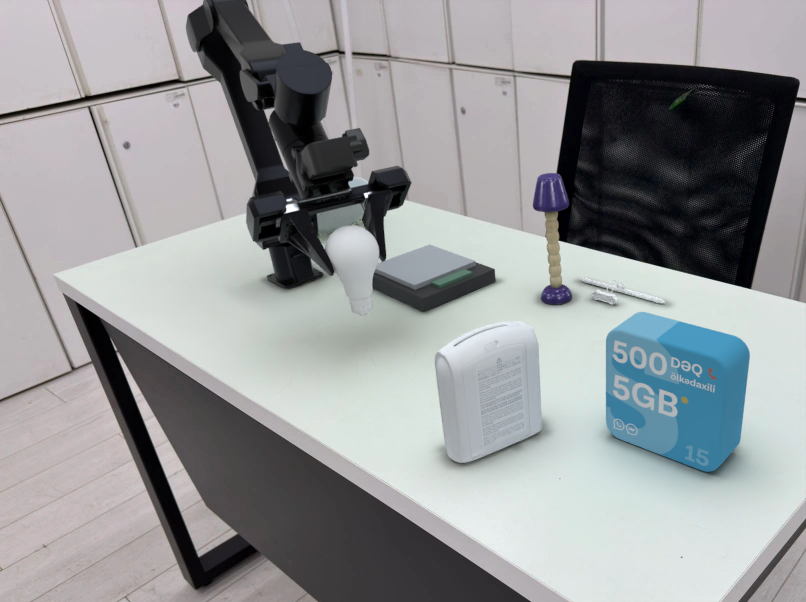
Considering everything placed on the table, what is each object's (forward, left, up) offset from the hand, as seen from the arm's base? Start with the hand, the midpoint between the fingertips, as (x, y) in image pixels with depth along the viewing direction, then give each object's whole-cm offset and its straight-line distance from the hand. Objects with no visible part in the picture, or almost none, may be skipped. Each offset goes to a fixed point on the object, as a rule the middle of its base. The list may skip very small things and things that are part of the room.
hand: (358, 267), depth 85 cm
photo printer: (+24, -2, -12) cm, 27 cm away
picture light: (+11, +31, -12) cm, 35 cm away
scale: (-13, +18, -12) cm, 25 cm away
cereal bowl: (-48, +22, -12) cm, 54 cm away
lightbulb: (-1, 0, -7) cm, 7 cm away
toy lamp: (+5, +26, -12) cm, 29 cm away
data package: (+37, +9, -12) cm, 40 cm away
